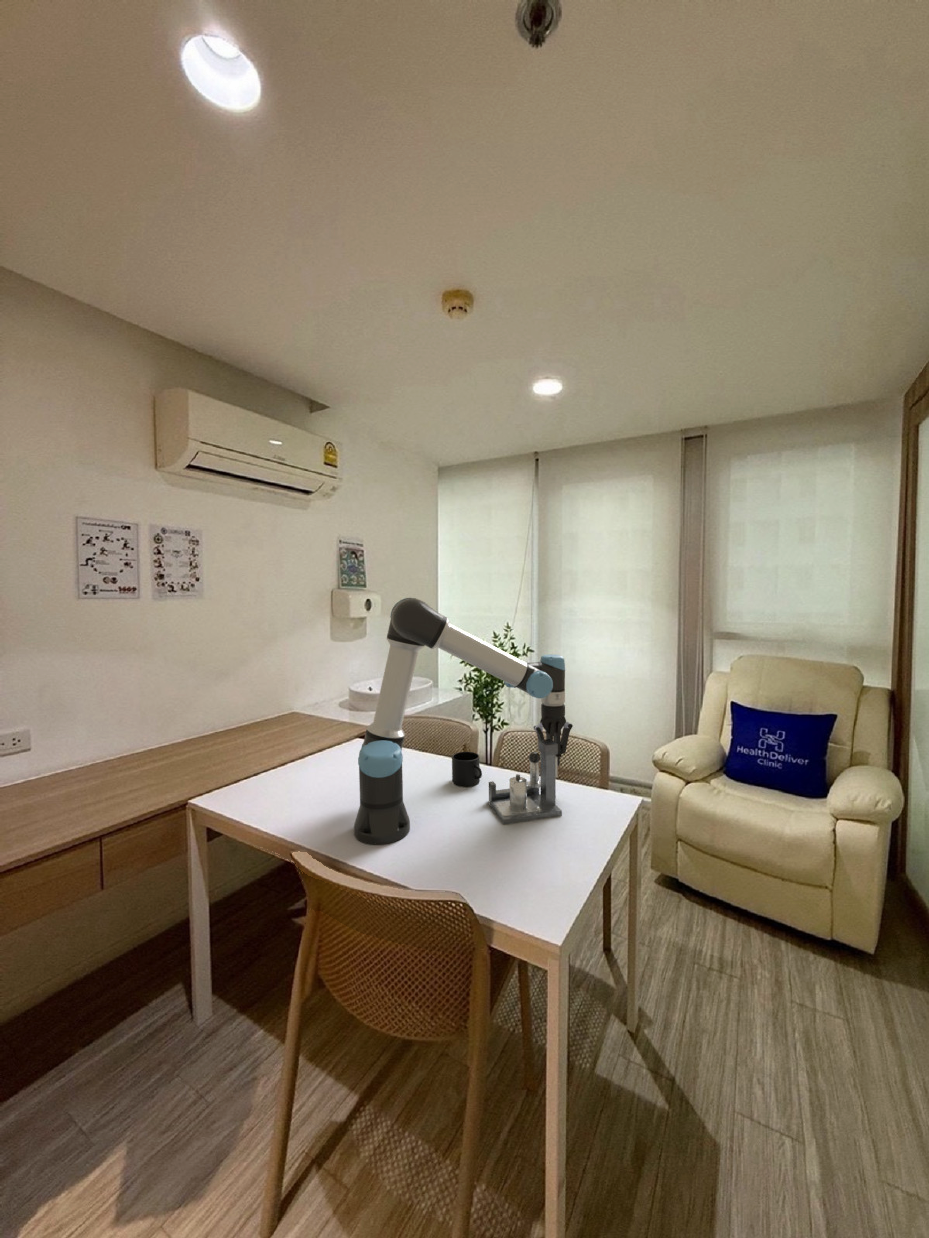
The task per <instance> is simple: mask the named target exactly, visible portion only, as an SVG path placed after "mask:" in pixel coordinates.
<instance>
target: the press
mask: <svg viewBox="0 0 929 1238" xmlns="http://www.w3.org/2000/svg"><path fill="white" fill-rule="evenodd" d="M537 740H538V739H537ZM537 750H538V752H540V754H539V755H540V761H539V781H540V783H541V787H540V788H532V789H531V788H530V787H529V786H528V785H527V808H526V809H524V810H513V809H511V808H510V788H503V789H497V785H496V782H495V781H494V780H493V781H488V802H489V808H490V809H491V810H492V812H494V814H495V815H496V816H497V818H498V819H499V821H501V823H502V825H504V826H505V825H511V824H517V823H522V822H523V823H524V822H529V821H535V820H541V819H542V820H543V819H548V818H554V817H555V818H556V817H560V816H562V815H563V810H562V809H561V808H560V807H558V805H556V800H557V799H556V798H557V797H556V794H557V793H556V777H555V754H558V744H557V743H555V742H554V740H553V741H552V740H551V739H547V740H546V739H545V740H538V741H537Z"/></svg>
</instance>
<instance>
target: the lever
mask: <svg viewBox="0 0 929 1238" xmlns="http://www.w3.org/2000/svg"><path fill="white" fill-rule="evenodd" d="M528 761H529V776H530V777H529V781H527V786H529V787H530V788H531V789H532V788H539V789H541V783H540V754H539V752H537V751H532V752H530V753H529V755H528Z"/></svg>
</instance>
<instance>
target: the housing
mask: <svg viewBox="0 0 929 1238" xmlns="http://www.w3.org/2000/svg"><path fill="white" fill-rule="evenodd" d="M527 782H528V781H527V779H526V778H525V777H523V776H521V774H519V773H517V774H515V776H513V777H510V779H509V789H510V808H511V809H513V810H524V809H526V808H527V786H528V785H527Z"/></svg>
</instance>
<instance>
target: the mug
mask: <svg viewBox="0 0 929 1238" xmlns="http://www.w3.org/2000/svg"><path fill="white" fill-rule="evenodd" d="M451 768H452V769H451V775H452V776H451V781H452V784H453V785H455V786H456V787H461V788H462V787H463V788H469V787H470V788H471V787H475V786H477V785H479V783H480V779H481V778H482V776H483V773H482V769H481V767H480V754H478V753H477V752H474V751H473V752H472V751H460V752H459V751H458V752H456V753H454V754H452V756H451Z"/></svg>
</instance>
